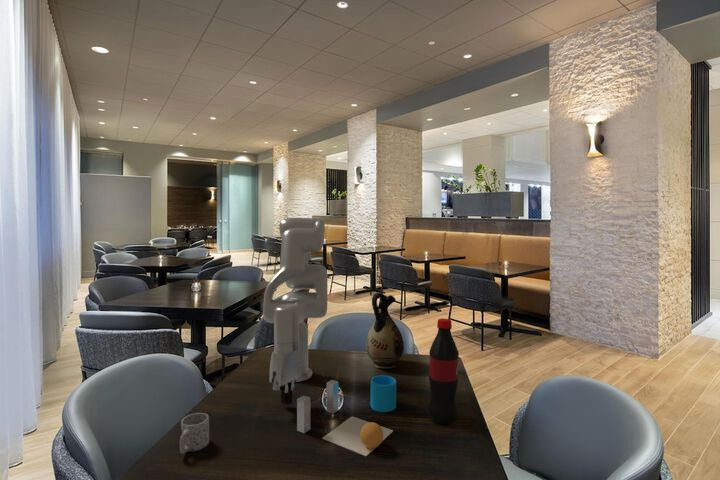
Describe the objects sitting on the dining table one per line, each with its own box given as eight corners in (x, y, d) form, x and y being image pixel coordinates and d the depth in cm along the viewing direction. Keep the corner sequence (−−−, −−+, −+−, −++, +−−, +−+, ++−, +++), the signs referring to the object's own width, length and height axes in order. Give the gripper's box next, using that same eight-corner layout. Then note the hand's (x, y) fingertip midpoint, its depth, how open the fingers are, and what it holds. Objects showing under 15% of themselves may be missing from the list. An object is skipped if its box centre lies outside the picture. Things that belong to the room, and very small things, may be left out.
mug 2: (398, 411, 118) (398, 385, 118) (371, 412, 118) (371, 386, 117) (392, 394, 130) (392, 370, 130) (368, 394, 130) (368, 371, 129)
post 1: (297, 430, 107) (297, 398, 106) (303, 426, 109) (303, 395, 109) (304, 433, 105) (304, 401, 105) (310, 429, 108) (310, 397, 107)
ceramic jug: (383, 355, 167) (383, 287, 166) (411, 365, 156) (412, 292, 155) (355, 365, 156) (355, 292, 154) (383, 376, 145) (384, 298, 143)
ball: (364, 456, 97) (351, 434, 99) (377, 446, 102) (364, 425, 104) (379, 445, 95) (366, 423, 97) (391, 435, 100) (378, 414, 102)
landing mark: (322, 438, 103) (322, 437, 103) (351, 416, 115) (351, 416, 115) (366, 456, 95) (366, 455, 95) (393, 431, 107) (393, 430, 107)
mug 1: (190, 436, 104) (190, 412, 103) (213, 437, 103) (213, 413, 103) (168, 458, 94) (167, 432, 94) (194, 460, 93) (193, 434, 93)
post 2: (326, 411, 118) (326, 382, 117) (331, 408, 120) (331, 379, 120) (333, 413, 116) (333, 384, 116) (338, 410, 119) (338, 381, 118)
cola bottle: (458, 415, 116) (460, 317, 115) (456, 429, 108) (458, 324, 107) (430, 410, 119) (432, 314, 118) (426, 423, 111) (427, 321, 110)
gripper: (294, 337, 127) (294, 391, 128) (259, 349, 115) (259, 409, 116) (311, 341, 123) (311, 397, 124) (277, 354, 111) (277, 416, 112)
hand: (286, 403), depth 120 cm, fingers closed
